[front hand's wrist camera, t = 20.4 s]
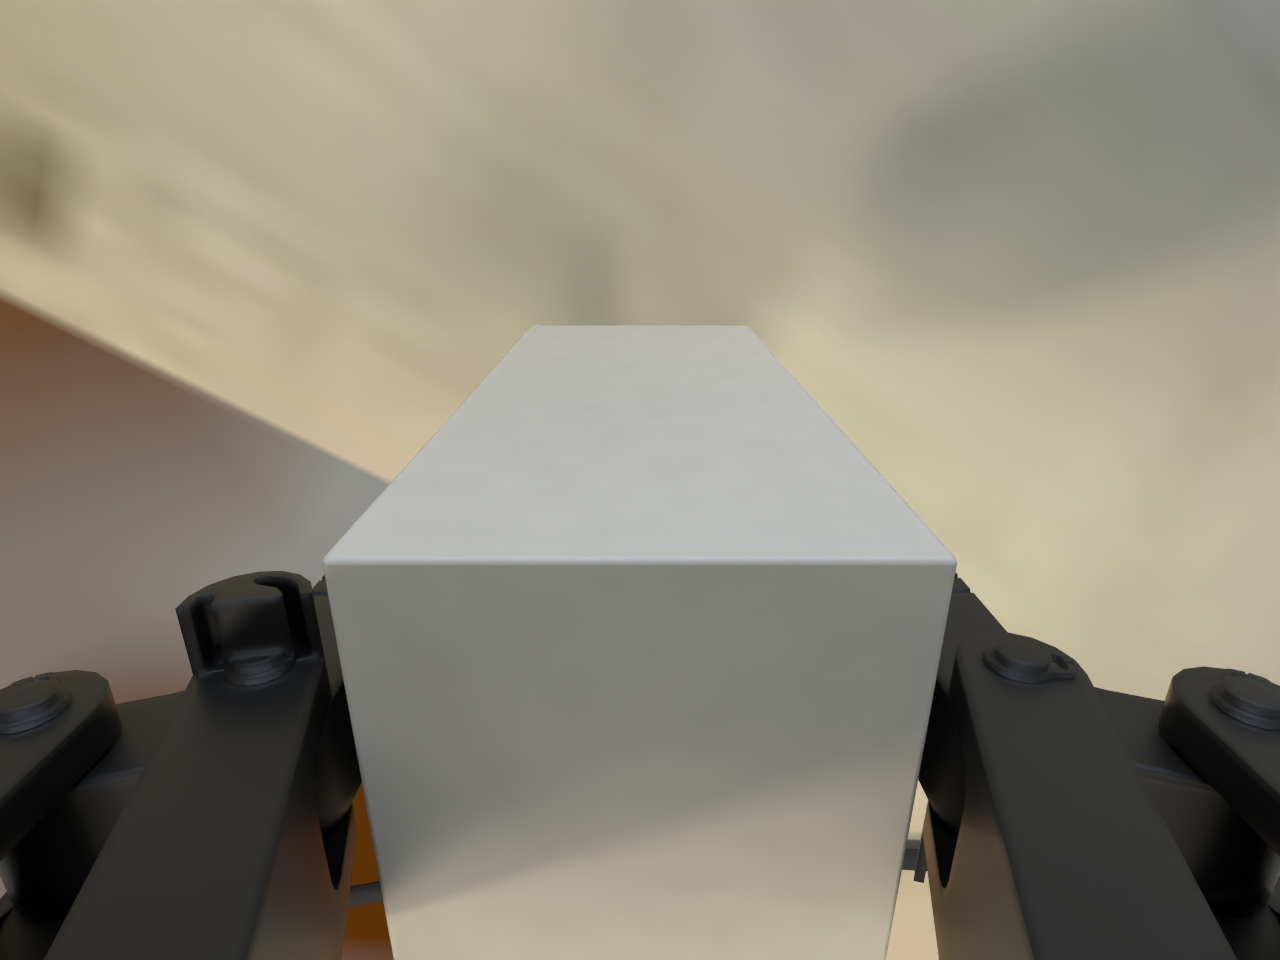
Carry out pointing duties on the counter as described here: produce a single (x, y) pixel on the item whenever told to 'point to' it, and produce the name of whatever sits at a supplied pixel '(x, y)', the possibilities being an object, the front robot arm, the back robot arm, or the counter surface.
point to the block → (639, 662)
